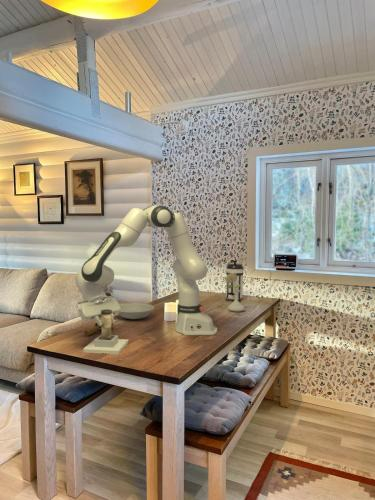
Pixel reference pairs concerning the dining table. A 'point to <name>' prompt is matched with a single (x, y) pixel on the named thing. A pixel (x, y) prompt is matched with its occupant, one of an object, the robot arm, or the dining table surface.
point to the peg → (106, 324)
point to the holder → (106, 345)
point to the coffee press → (238, 271)
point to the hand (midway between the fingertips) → (107, 323)
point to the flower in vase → (235, 305)
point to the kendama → (94, 329)
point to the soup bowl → (135, 310)
